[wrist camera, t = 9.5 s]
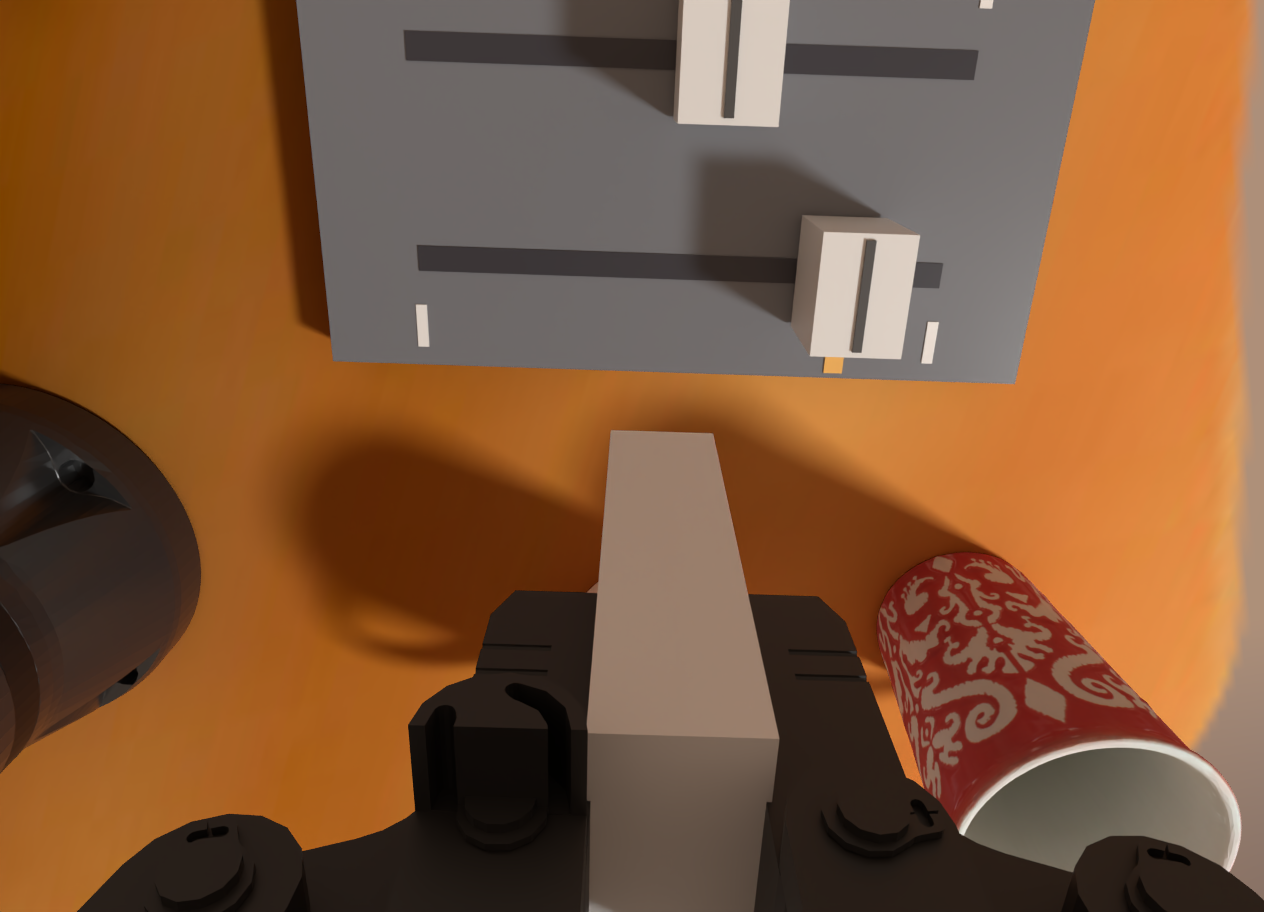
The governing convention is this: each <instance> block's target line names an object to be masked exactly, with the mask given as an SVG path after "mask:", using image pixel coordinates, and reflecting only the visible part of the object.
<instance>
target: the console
mask: <svg viewBox="0 0 1264 912" xmlns="http://www.w3.org/2000/svg"><path fill="white" fill-rule="evenodd" d="M296 3H297V13H298V22H299V32H300V42H301V52H302V61H303V71H304V81H305V91H306V100H307V110H308V120H309V130H310V139H311V149H312V159H313V169H314V178H315V188H316V198H317V208H318V217H319V227H320V237H321V247H322V256H323V266H324V276H325V286H326V295H327V305H328V315H329V325H330V335H331V344H332V354H333V361H347V362H377V363H407V364H436V365H466V366H496V367H525V368H555V369H585V370H615V371H644V372H674V373H704V374H734V375H763V376H793V377H823V378H852V379H882V380H912V381H942V382H971V383H1001V384H1015V381H1016V376H1017V371H1018V366H1019V362H1020V357H1021V352H1022V347H1023V343H1024V338H1025V333H1026V328H1027V323H1028V319H1029V314H1030V309H1031V304H1032V299H1033V295H1034V290H1035V285H1036V280H1037V276H1038V271H1039V266H1040V261H1041V256H1042V252H1043V247H1044V242H1045V237H1046V232H1047V228H1048V223H1049V218H1050V213H1051V209H1052V204H1053V199H1054V194H1055V189H1056V185H1057V180H1058V175H1059V170H1060V165H1061V161H1062V156H1063V151H1064V146H1065V142H1066V137H1067V132H1068V127H1069V122H1070V118H1071V113H1072V108H1073V103H1074V99H1075V94H1076V89H1077V84H1078V79H1079V75H1080V70H1081V65H1082V60H1083V55H1084V51H1085V46H1086V41H1087V36H1088V32H1089V27H1090V22H1091V17H1092V12H1093V8H1094V3H1095V0H790V4H789V15H788V26H787V38H786V49H785V60H784V71H783V82H782V93H781V104H780V115H779V127H761V126H732V125H703V124H678V123H676V122H675V121H674V120H673V115H674V93H675V72H676V50H677V29H678V8H679V0H296ZM802 215H813V216H843V217H872V218H888V219H890V220H892V221H894V222H896V223H898V224H900V225H902V226H903V227H905V228H907V229H909V230H911V231H913V232H915V233H917V234H919V235H920V240H919V247H918V253H917V260H916V266H915V273H914V279H913V285H912V292H911V298H910V305H909V311H908V318H907V324H906V331H905V337H904V344H903V350H902V356H901V359H876V358H846V357H817V356H809V354H808V353H807V351H806V349H805V348H804V346H803V345H802V343H801V342H800V340H799V338H798V337H797V335H796V334H795V332H794V331H793V329H792V327H791V319H792V309H793V299H794V290H795V280H796V270H797V261H798V251H799V241H800V232H801V222H802Z"/></svg>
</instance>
